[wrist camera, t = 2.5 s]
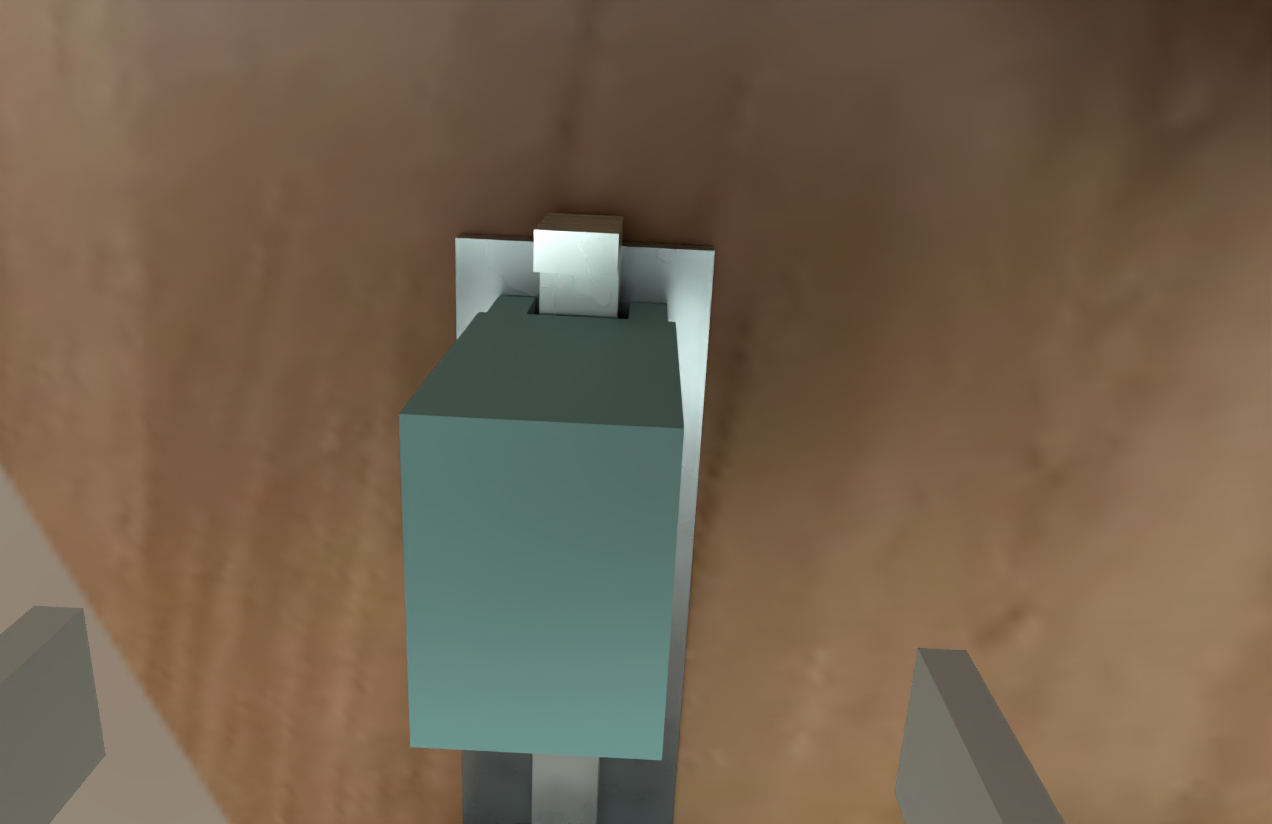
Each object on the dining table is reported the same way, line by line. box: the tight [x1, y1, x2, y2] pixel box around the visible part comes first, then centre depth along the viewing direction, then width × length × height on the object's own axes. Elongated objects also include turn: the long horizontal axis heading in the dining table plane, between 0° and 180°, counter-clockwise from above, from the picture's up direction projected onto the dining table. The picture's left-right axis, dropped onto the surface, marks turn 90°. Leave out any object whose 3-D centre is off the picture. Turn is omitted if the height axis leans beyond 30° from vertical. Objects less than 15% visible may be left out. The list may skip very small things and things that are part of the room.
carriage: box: [399, 296, 684, 760], centre depth 23 cm, size 7×5×10 cm
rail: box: [455, 213, 715, 824], centre depth 28 cm, size 22×7×4 cm, turn 177°
